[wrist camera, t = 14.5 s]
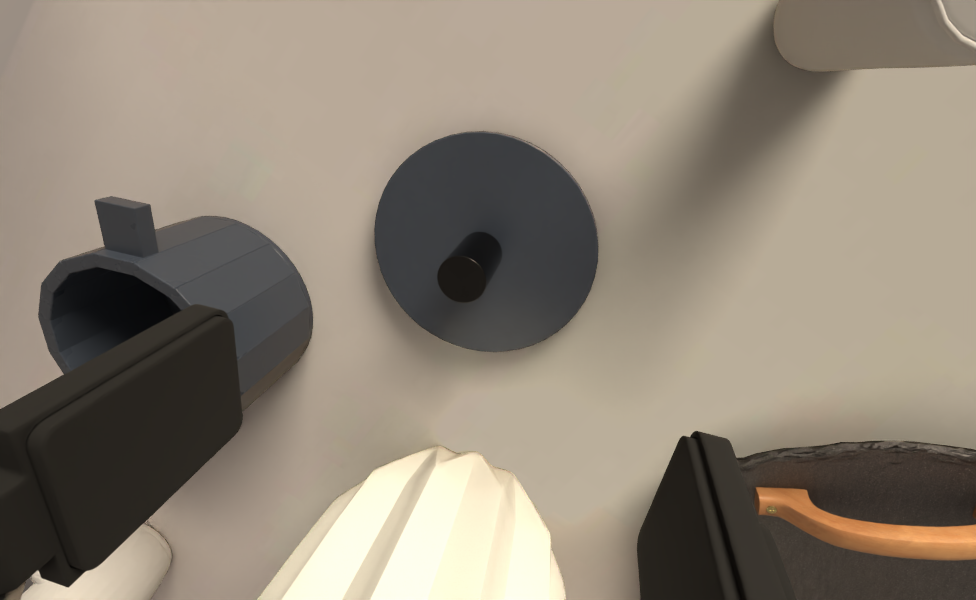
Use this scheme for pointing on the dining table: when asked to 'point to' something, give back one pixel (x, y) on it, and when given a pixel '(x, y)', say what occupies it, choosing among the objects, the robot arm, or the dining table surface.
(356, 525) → the vase
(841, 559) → the serving tray
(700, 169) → the dining table surface
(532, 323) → the lid
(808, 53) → the beverage can
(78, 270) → the pot
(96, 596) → the mug
